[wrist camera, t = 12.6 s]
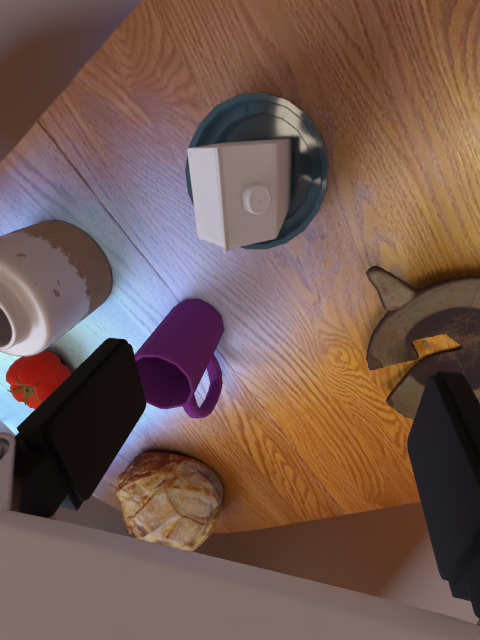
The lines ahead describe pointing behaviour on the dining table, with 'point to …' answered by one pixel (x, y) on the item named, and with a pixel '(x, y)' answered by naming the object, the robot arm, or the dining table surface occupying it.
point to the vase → (48, 284)
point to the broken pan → (425, 332)
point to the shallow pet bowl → (273, 123)
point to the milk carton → (241, 190)
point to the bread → (169, 499)
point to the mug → (182, 359)
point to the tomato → (36, 377)
